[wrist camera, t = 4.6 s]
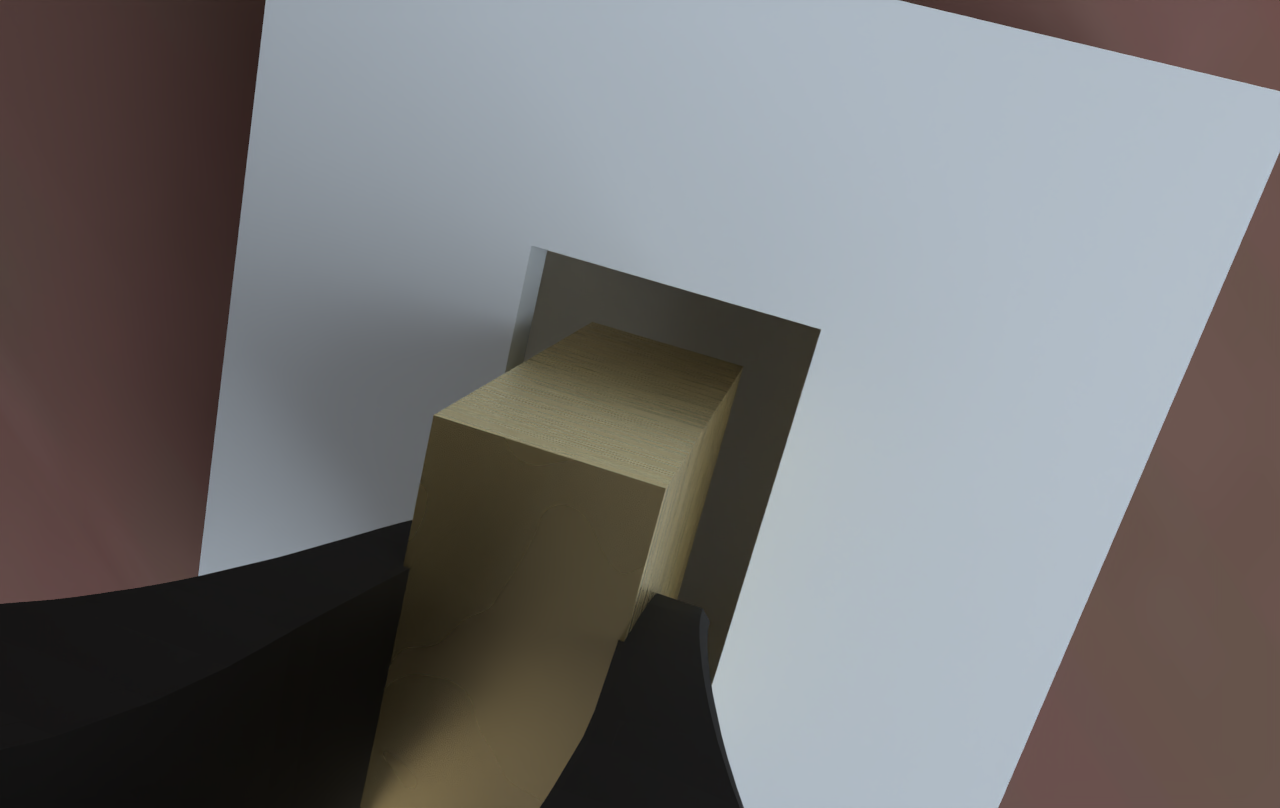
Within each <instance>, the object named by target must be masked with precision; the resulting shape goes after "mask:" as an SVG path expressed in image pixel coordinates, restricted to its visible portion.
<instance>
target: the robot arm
mask: <svg viewBox="0 0 1280 808" xmlns="http://www.w3.org/2000/svg"><path fill="white" fill-rule="evenodd" d="M411 525H412V520H409V521H405V522H401V523H397V524H394V525H390V526H386V527H383V528H379V529H376V530H372V531H369V532H365V533H362V534H359V535H355V536H352V537H348V538H345V539H341V540H338V541H334V542H331V543H327V544H324V545H320V546H317V547H313V548H309V549H306V550H302V551H299V552H295V553H292V554H288V555H285V556H281V557H277V558H273V559H269V560H265V561H260V562H256V563H252V564H248V565H244V566H239V567H235V568H231V569H227V570H222V571H218V572H214V573H210V574H206V575H201V576H197V577H193V578H189V579H184V580H179V581H173V582H168V583H163V584H158V585H152V586H146V587H141V588H135V589H128V590H121V591H114V592H108V593H101V594H94V595H87V596H80V597H72V598H64V599H55V600H44V601H31V602H19V603H6V604H0V808H360V804H361V800H362V795H363V790H364V785H365V781H366V776H367V771H368V766H369V761H370V757H371V752H372V747H373V742H374V738H375V733H376V728H377V723H378V719H379V714H380V709H381V704H382V700H383V695H384V690H385V685H386V680H387V676H388V671H389V666H390V661H391V657H392V652H393V647H394V642H395V638H396V633H397V628H398V623H399V618H400V614H401V609H402V604H403V599H404V595H405V590H406V585H407V580H408V576H409V571H410V568H408V567H406V566H403V565H404V560H405V555H406V550H407V545H408V540H409V535H410V530H411ZM709 624H710V621H709V619H708V617H707V615H706V614H705V612H704V610H703V608H700V607H697V606H694V605H691V604H688V603H685V602H682V601H679V600H676V599H673V598H670V597H667V596H664V595H661V594H658V593H656V594H655V596H654V597H653V598H652V599H651V600H650V602H649V603H648V604H647V606H646V607H645V609H644V610H643V612H642V613H641V615H640V616H639V618H638V620H637V621H636V623H635V624H634V626H633V628H632V629H631V631H630V633H629V634H628V636H627V638H626V639H625V641H621V640H618V643H617V646H616V649H615V651H614V654H613V657H612V660H611V663H610V666H609V669H608V672H607V675H606V678H605V681H604V684H603V687H602V690H601V693H600V696H599V699H598V702H597V705H596V708H595V711H594V713H593V715H592V718H591V720H590V722H589V724H588V727H587V729H586V731H585V733H584V736H583V738H582V739H581V741H580V743H579V744H578V746H577V748H576V749H575V751H574V753H573V754H572V756H571V758H570V759H569V761H568V763H567V764H566V766H565V768H564V770H563V771H562V773H561V775H560V776H559V778H558V780H557V781H556V783H555V785H554V786H553V788H552V789H551V791H550V792H549V794H548V796H547V797H546V799H545V800H544V802H543V803H542V805H541V806H540V808H744V806H743V804H742V801H741V798H740V795H739V792H738V789H737V786H736V783H735V780H734V776H733V773H732V770H731V767H730V764H729V760H728V757H727V753H726V750H725V746H724V742H723V738H722V735H721V730H720V725H719V721H718V716H717V711H716V707H715V702H714V697H713V692H712V686H711V679H710V671H709V662H708V647H707V637H708V627H709Z"/></svg>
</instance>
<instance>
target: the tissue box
mask: <svg viewBox="0 0 1280 808" xmlns="http://www.w3.org/2000/svg"><path fill="white" fill-rule="evenodd" d="M1279 152H1280V91H1276V90H1272V89H1268V88H1263V87H1259V86H1255V85H1251V84H1247V83H1242V82H1238V81H1234V80H1230V79H1226V78H1222V77H1217V76H1213V75H1209V74H1205V73H1201V72H1196V71H1192V70H1188V69H1184V68H1180V67H1176V66H1171V65H1167V64H1163V63H1159V62H1155V61H1150V60H1146V59H1142V58H1138V57H1134V56H1130V55H1125V54H1121V53H1117V52H1113V51H1109V50H1105V49H1100V48H1096V47H1092V46H1088V45H1084V44H1079V43H1075V42H1071V41H1067V40H1063V39H1059V38H1054V37H1050V36H1046V35H1042V34H1038V33H1033V32H1029V31H1025V30H1021V29H1017V28H1013V27H1008V26H1004V25H1000V24H996V23H992V22H987V21H983V20H979V19H975V18H971V17H967V16H962V15H958V14H954V13H950V12H946V11H941V10H937V9H933V8H929V7H925V6H921V5H916V4H912V3H908V2H904V1H900V0H266V3H265V11H264V20H263V29H262V37H261V46H260V54H259V63H258V71H257V80H256V88H255V97H254V105H253V114H252V122H251V131H250V139H249V148H248V157H247V165H246V174H245V182H244V191H243V199H242V208H241V216H240V225H239V233H238V242H237V250H236V259H235V268H234V276H233V285H232V293H231V302H230V310H229V319H228V327H227V336H226V344H225V353H224V361H223V370H222V378H221V387H220V396H219V404H218V413H217V421H216V430H215V438H214V447H213V455H212V464H211V472H210V481H209V489H208V498H207V507H206V515H205V524H204V532H203V541H202V549H201V558H200V566H199V575H198V576H201V575H206V574H210V573H214V572H218V571H222V570H227V569H231V568H235V567H239V566H244V565H248V564H252V563H256V562H260V561H265V560H269V559H273V558H277V557H281V556H285V555H288V554H292V553H295V552H299V551H302V550H306V549H309V548H313V547H317V546H320V545H324V544H327V543H331V542H334V541H338V540H341V539H345V538H348V537H352V536H355V535H359V534H362V533H365V532H369V531H372V530H376V529H379V528H383V527H386V526H390V525H394V524H397V523H401V522H405V521H409V520H413V515H414V510H415V505H416V500H417V495H418V490H419V485H420V480H421V475H422V470H423V465H424V460H425V455H426V450H427V445H428V440H429V435H430V430H431V425H432V420H433V415H434V414H436V413H438V412H440V411H441V410H443V409H445V408H446V407H448V406H450V405H452V404H453V403H455V402H457V401H458V400H460V399H462V398H463V397H465V396H467V395H469V394H470V393H472V392H474V391H475V390H477V389H479V388H481V387H482V386H484V385H486V384H487V383H489V382H491V381H492V380H494V379H496V378H498V377H499V376H501V375H503V374H504V373H506V372H508V371H510V370H511V369H513V368H515V367H516V366H518V365H520V364H521V363H523V362H525V361H527V360H528V359H530V358H532V357H533V356H535V355H537V354H539V353H540V352H542V351H544V350H545V349H547V348H549V347H550V346H552V345H554V344H556V343H557V342H559V341H561V340H562V339H564V338H566V337H568V336H569V335H571V334H573V333H574V332H576V331H578V330H579V329H581V328H583V327H585V326H586V325H588V324H590V323H591V322H594V323H598V324H601V325H605V326H608V327H611V328H615V329H618V330H622V331H625V332H628V333H632V334H635V335H639V336H642V337H645V338H649V339H652V340H656V341H659V342H662V343H666V344H669V345H672V346H676V347H679V348H683V349H686V350H689V351H693V352H696V353H700V354H703V355H706V356H710V357H713V358H717V359H720V360H723V361H727V362H730V363H734V364H737V365H740V366H743V370H742V373H741V377H740V380H739V384H738V387H737V391H736V394H735V398H734V401H733V405H732V408H731V412H730V415H729V419H728V422H727V426H726V429H725V433H724V436H723V440H722V444H721V447H720V451H719V454H718V458H717V461H716V465H715V468H714V472H713V475H712V479H711V482H710V486H709V489H708V493H707V496H706V500H705V503H704V507H703V510H702V514H701V517H700V521H699V524H698V528H697V531H696V535H695V538H694V542H693V545H692V549H691V552H690V556H689V559H688V563H687V566H686V570H685V573H684V577H683V581H682V584H681V588H680V591H679V595H678V598H677V600H679V601H682V602H685V603H688V604H691V605H694V606H697V607H700V608H703V610H704V612H705V614H706V615H707V617H708V619H709V621H710V624H709V627H708V637H707V647H708V662H709V671H710V679H711V686H712V692H713V697H714V702H715V707H716V711H717V716H718V721H719V725H720V730H721V735H722V738H723V742H724V746H725V750H726V753H727V757H728V760H729V764H730V767H731V770H732V773H733V776H734V780H735V783H736V786H737V789H738V792H739V795H740V798H741V801H742V804H743V806H744V808H998V807H999V804H1000V802H1001V800H1002V797H1003V795H1004V793H1005V790H1006V788H1007V786H1008V783H1009V781H1010V779H1011V776H1012V774H1013V772H1014V769H1015V767H1016V765H1017V762H1018V760H1019V758H1020V756H1021V753H1022V751H1023V749H1024V746H1025V744H1026V742H1027V739H1028V737H1029V735H1030V732H1031V730H1032V728H1033V725H1034V723H1035V721H1036V718H1037V716H1038V714H1039V711H1040V709H1041V707H1042V704H1043V702H1044V700H1045V697H1046V695H1047V693H1048V690H1049V688H1050V686H1051V683H1052V681H1053V679H1054V676H1055V674H1056V672H1057V669H1058V667H1059V665H1060V662H1061V660H1062V658H1063V655H1064V653H1065V651H1066V648H1067V646H1068V644H1069V641H1070V639H1071V637H1072V634H1073V632H1074V630H1075V627H1076V625H1077V623H1078V620H1079V618H1080V616H1081V613H1082V611H1083V609H1084V606H1085V604H1086V602H1087V599H1088V597H1089V595H1090V592H1091V590H1092V588H1093V585H1094V583H1095V581H1096V579H1097V576H1098V574H1099V572H1100V569H1101V567H1102V565H1103V562H1104V560H1105V558H1106V555H1107V553H1108V551H1109V548H1110V546H1111V544H1112V541H1113V539H1114V537H1115V534H1116V532H1117V530H1118V527H1119V525H1120V523H1121V520H1122V518H1123V516H1124V513H1125V511H1126V509H1127V506H1128V504H1129V502H1130V499H1131V497H1132V495H1133V492H1134V490H1135V488H1136V485H1137V483H1138V481H1139V478H1140V476H1141V474H1142V471H1143V469H1144V467H1145V464H1146V462H1147V460H1148V457H1149V455H1150V453H1151V450H1152V448H1153V446H1154V443H1155V441H1156V439H1157V436H1158V434H1159V432H1160V429H1161V427H1162V425H1163V422H1164V420H1165V418H1166V415H1167V413H1168V411H1169V408H1170V406H1171V404H1172V401H1173V399H1174V397H1175V395H1176V392H1177V390H1178V388H1179V385H1180V383H1181V381H1182V378H1183V376H1184V374H1185V371H1186V369H1187V367H1188V364H1189V362H1190V360H1191V357H1192V355H1193V353H1194V350H1195V348H1196V346H1197V343H1198V341H1199V339H1200V336H1201V334H1202V332H1203V329H1204V327H1205V325H1206V322H1207V320H1208V318H1209V315H1210V313H1211V311H1212V308H1213V306H1214V304H1215V301H1216V299H1217V297H1218V294H1219V292H1220V290H1221V287H1222V285H1223V283H1224V280H1225V278H1226V276H1227V273H1228V271H1229V269H1230V266H1231V264H1232V262H1233V259H1234V257H1235V255H1236V252H1237V250H1238V248H1239V245H1240V243H1241V241H1242V238H1243V236H1244V234H1245V231H1246V229H1247V227H1248V224H1249V222H1250V220H1251V217H1252V215H1253V213H1254V211H1255V208H1256V206H1257V204H1258V201H1259V199H1260V197H1261V194H1262V192H1263V190H1264V187H1265V185H1266V183H1267V180H1268V178H1269V176H1270V173H1271V171H1272V169H1273V166H1274V164H1275V162H1276V159H1277V157H1278V155H1279Z"/></svg>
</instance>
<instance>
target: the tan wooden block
mask: <svg viewBox="0 0 1280 808" xmlns="http://www.w3.org/2000/svg"><path fill="white" fill-rule="evenodd" d="M742 370H743V366H740V365H737V364H734V363H730V362H727V361H723V360H720V359H717V358H713V357H710V356H706V355H703V354H700V353H696V352H693V351H689V350H686V349H683V348H679V347H676V346H672V345H669V344H666V343H662V342H659V341H656V340H652V339H649V338H645V337H642V336H639V335H635V334H632V333H628V332H625V331H622V330H618V329H615V328H611V327H608V326H605V325H601V324H598V323H594V322H591V323H590V324H588V325H586V326H585V327H583V328H581V329H579V330H578V331H576V332H574V333H573V334H571V335H569V336H568V337H566V338H564V339H562V340H561V341H559V342H557V343H556V344H554V345H552V346H550V347H549V348H547V349H545V350H544V351H542V352H540V353H539V354H537V355H535V356H533V357H532V358H530V359H528V360H527V361H525V362H523V363H521V364H520V365H518V366H516V367H515V368H513V369H511V370H510V371H508V372H506V373H504V374H503V375H501V376H499V377H498V378H496V379H494V380H492V381H491V382H489V383H487V384H486V385H484V386H482V387H481V388H479V389H477V390H475V391H474V392H472V393H470V394H469V395H467V396H465V397H463V398H462V399H460V400H458V401H457V402H455V403H453V404H452V405H450V406H448V407H446V408H445V409H443V410H441V411H440V412H438V413H436V414H434V415H433V420H432V425H431V430H430V435H429V440H428V445H427V450H426V455H425V460H424V465H423V470H422V475H421V480H420V485H419V490H418V495H417V500H416V505H415V510H414V515H413V520H412V525H411V530H410V535H409V540H408V545H407V550H406V555H405V560H404V565H403V566H406V567H408V568H410V571H409V576H408V580H407V585H406V590H405V595H404V599H403V604H402V609H401V614H400V618H399V623H398V628H397V633H396V638H395V642H394V647H393V652H392V657H391V661H390V666H389V671H388V676H387V680H386V685H385V690H384V695H383V700H382V704H381V709H380V714H379V719H378V723H377V728H376V733H375V738H374V742H373V747H372V752H371V757H370V761H369V766H368V771H367V776H366V781H365V785H364V790H363V795H362V800H361V804H360V808H540V806H541V805H542V803H543V802H544V800H545V799H546V797H547V796H548V794H549V792H550V791H551V789H552V788H553V786H554V785H555V783H556V781H557V780H558V778H559V776H560V775H561V773H562V771H563V770H564V768H565V766H566V764H567V763H568V761H569V759H570V758H571V756H572V754H573V753H574V751H575V749H576V748H577V746H578V744H579V743H580V741H581V739H582V738H583V736H584V733H585V731H586V729H587V727H588V724H589V722H590V720H591V718H592V715H593V713H594V711H595V708H596V705H597V702H598V699H599V696H600V693H601V690H602V687H603V684H604V681H605V678H606V675H607V672H608V669H609V666H610V663H611V660H612V657H613V654H614V651H615V649H616V646H617V643H618V640H621V641H625V639H626V638H627V636H628V634H629V633H630V631H631V629H632V628H633V626H634V624H635V623H636V621H637V620H638V618H639V616H640V615H641V613H642V612H643V610H644V609H645V607H646V606H647V604H648V603H649V602H650V600H651V599H652V598H653V597H654V596H655V594H656V593H658V594H661V595H664V596H667V597H670V598H673V599H676V600H677V598H678V595H679V591H680V588H681V584H682V581H683V577H684V573H685V570H686V566H687V563H688V559H689V556H690V552H691V549H692V545H693V542H694V538H695V535H696V531H697V528H698V524H699V521H700V517H701V514H702V510H703V507H704V503H705V500H706V496H707V493H708V489H709V486H710V482H711V479H712V475H713V472H714V468H715V465H716V461H717V458H718V454H719V451H720V447H721V444H722V440H723V436H724V433H725V429H726V426H727V422H728V419H729V415H730V412H731V408H732V405H733V401H734V398H735V394H736V391H737V387H738V384H739V380H740V377H741V373H742Z"/></svg>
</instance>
